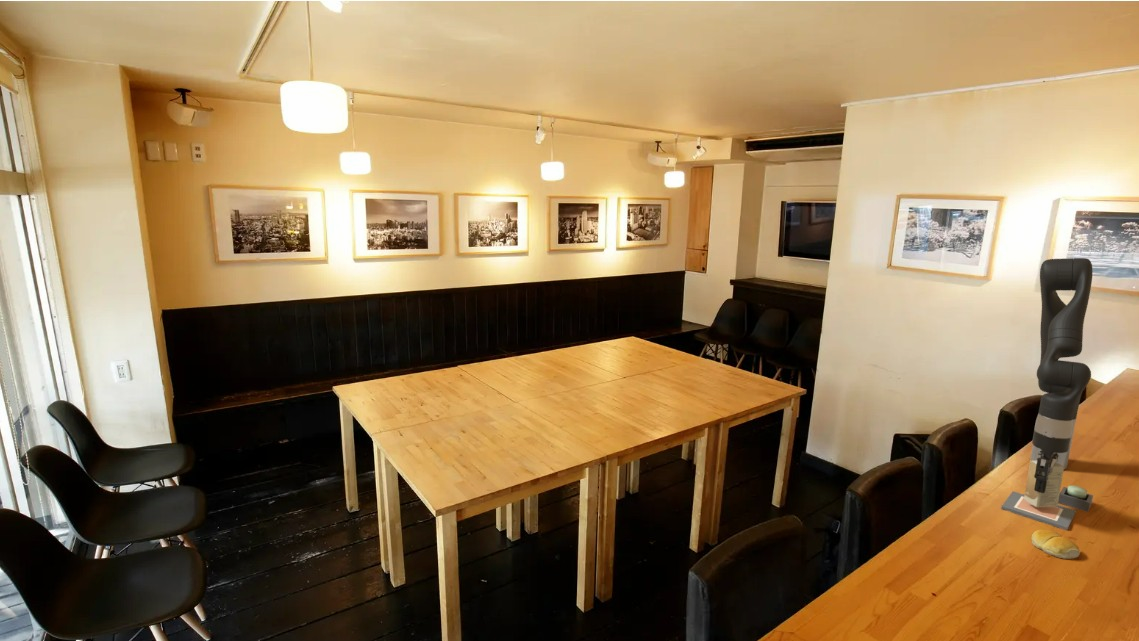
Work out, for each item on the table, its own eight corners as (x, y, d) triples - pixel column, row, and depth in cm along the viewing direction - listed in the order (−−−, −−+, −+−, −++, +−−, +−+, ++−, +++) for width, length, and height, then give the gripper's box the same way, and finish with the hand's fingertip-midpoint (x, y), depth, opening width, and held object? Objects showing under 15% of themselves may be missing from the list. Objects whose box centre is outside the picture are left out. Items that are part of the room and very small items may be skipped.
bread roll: (1049, 537, 140) (1051, 523, 140) (1085, 558, 132) (1088, 543, 131) (1020, 539, 139) (1023, 525, 139) (1055, 561, 131) (1058, 546, 130)
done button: (1068, 489, 158) (1069, 484, 158) (1086, 495, 155) (1088, 489, 155) (1065, 494, 156) (1066, 488, 155) (1084, 499, 153) (1085, 493, 152)
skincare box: (1044, 498, 154) (1051, 459, 152) (1058, 507, 150) (1065, 466, 147) (1022, 499, 154) (1029, 459, 151) (1035, 507, 150) (1043, 466, 147)
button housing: (1061, 495, 160) (1063, 486, 160) (1091, 504, 155) (1093, 495, 155) (1057, 502, 156) (1059, 494, 156) (1088, 512, 151) (1089, 502, 151)
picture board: (1012, 493, 161) (1012, 490, 161) (1075, 512, 151) (1076, 509, 151) (1001, 508, 153) (1001, 505, 153) (1067, 530, 143) (1067, 527, 143)
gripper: (1040, 421, 155) (1030, 474, 158) (1029, 434, 146) (1019, 490, 149) (1075, 429, 149) (1065, 483, 152) (1066, 443, 140) (1055, 501, 143)
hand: (1042, 486), depth 151 cm, fingers closed on skincare box, 7 cm apart
